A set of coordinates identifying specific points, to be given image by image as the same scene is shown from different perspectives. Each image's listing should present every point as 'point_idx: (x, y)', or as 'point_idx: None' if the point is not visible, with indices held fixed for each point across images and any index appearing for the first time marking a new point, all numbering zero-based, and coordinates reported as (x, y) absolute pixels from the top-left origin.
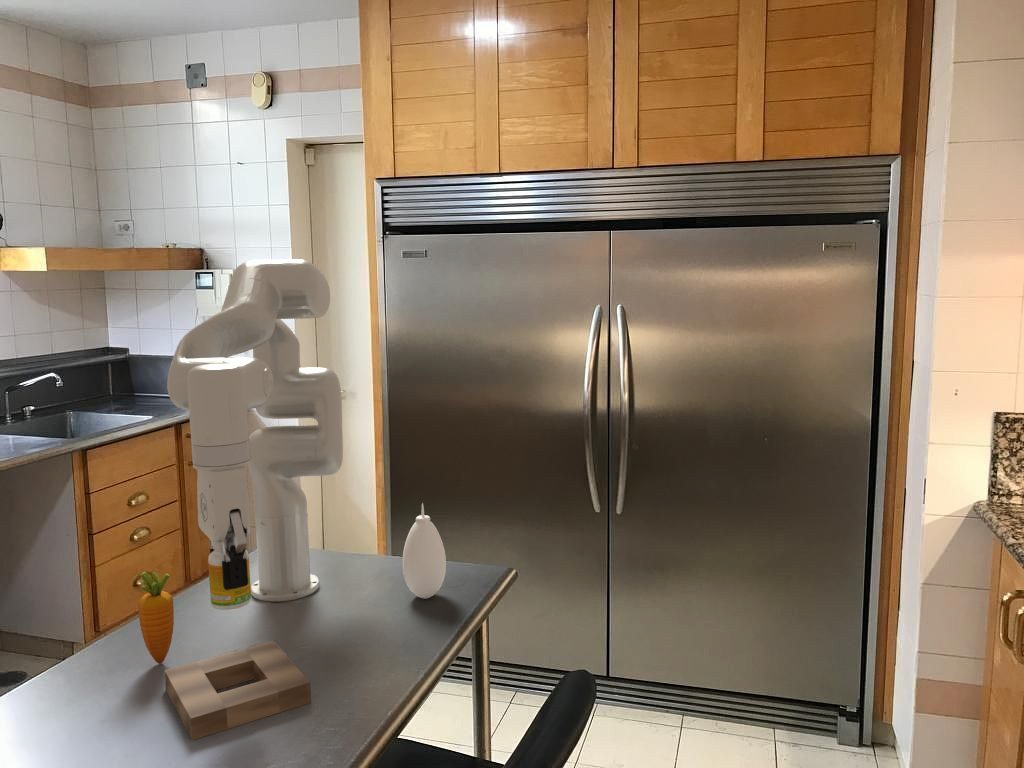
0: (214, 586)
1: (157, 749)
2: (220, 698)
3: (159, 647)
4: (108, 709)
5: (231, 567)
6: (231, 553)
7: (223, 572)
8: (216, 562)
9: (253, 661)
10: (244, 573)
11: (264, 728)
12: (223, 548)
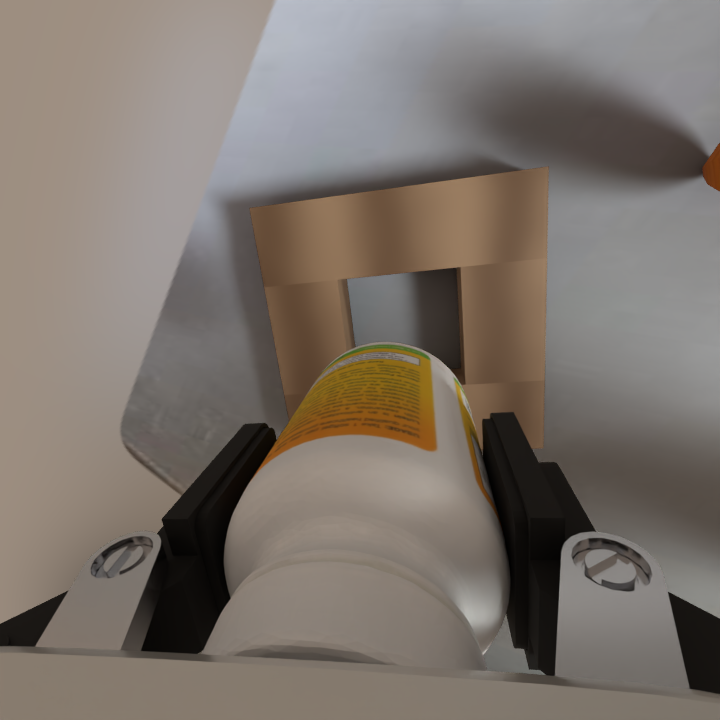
0: (323, 388)
1: (263, 136)
2: (310, 282)
3: (714, 160)
4: (512, 14)
5: (160, 533)
6: (20, 629)
7: (201, 473)
8: (253, 483)
9: (463, 383)
10: None
11: (254, 341)
12: (93, 626)
